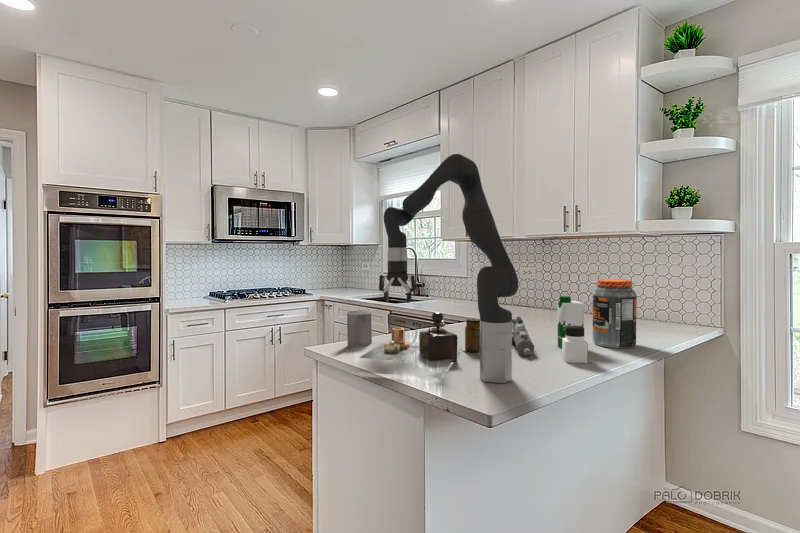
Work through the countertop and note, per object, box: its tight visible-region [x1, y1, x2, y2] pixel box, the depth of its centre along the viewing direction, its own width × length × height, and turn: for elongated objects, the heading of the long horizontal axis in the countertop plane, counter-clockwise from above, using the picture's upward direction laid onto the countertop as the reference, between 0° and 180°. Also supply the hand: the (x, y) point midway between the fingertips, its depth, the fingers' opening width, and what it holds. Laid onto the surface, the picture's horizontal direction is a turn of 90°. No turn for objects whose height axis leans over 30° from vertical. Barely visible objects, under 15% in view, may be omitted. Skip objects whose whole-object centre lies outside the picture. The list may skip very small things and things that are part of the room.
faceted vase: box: [387, 327, 411, 349], centre depth 166 cm, size 8×8×7 cm
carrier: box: [359, 340, 419, 362], centre depth 159 cm, size 24×16×7 cm, turn 163°
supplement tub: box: [592, 278, 638, 349], centre depth 173 cm, size 16×16×26 cm
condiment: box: [460, 318, 480, 355], centre depth 163 cm, size 7×8×12 cm
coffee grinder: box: [418, 311, 458, 364], centre depth 148 cm, size 16×11×18 cm
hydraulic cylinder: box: [512, 316, 535, 356], centre depth 170 cm, size 7×37×10 cm, turn 173°
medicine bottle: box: [561, 325, 589, 364], centre depth 149 cm, size 7×7×12 cm
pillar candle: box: [346, 308, 373, 349], centre depth 174 cm, size 10×10×15 cm
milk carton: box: [556, 295, 585, 350], centre depth 167 cm, size 9×9×20 cm
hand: (397, 302), depth 166 cm, fingers open, 8 cm apart
